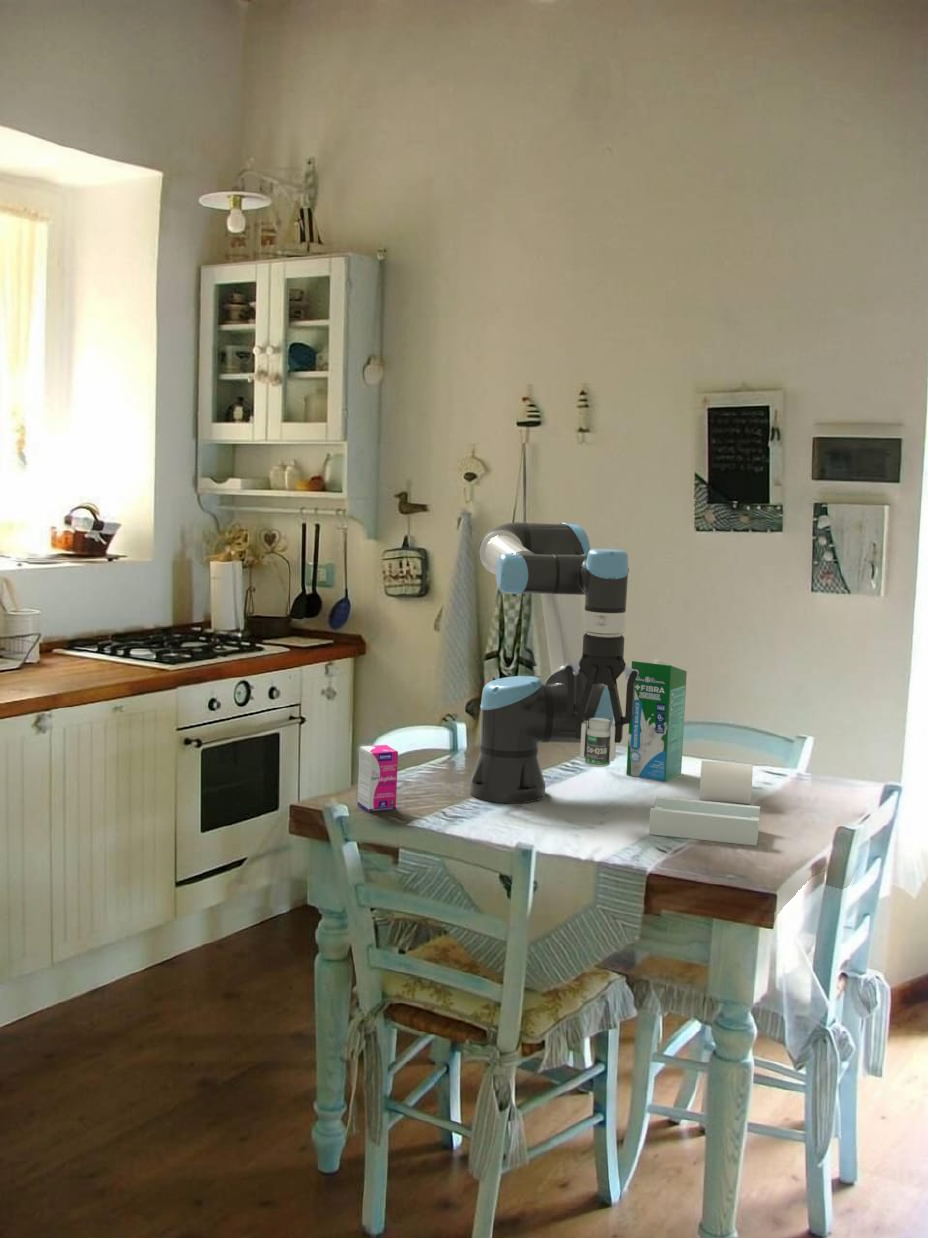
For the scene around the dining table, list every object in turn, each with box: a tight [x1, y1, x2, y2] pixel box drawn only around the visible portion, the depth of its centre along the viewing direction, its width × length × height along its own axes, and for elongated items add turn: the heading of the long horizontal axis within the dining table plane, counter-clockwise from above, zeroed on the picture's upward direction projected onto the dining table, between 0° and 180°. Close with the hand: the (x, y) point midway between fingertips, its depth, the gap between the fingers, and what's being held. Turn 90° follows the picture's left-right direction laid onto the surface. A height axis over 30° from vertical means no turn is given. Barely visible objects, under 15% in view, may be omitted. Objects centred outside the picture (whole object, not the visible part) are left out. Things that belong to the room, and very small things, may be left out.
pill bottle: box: [584, 718, 611, 768], centre depth 229 cm, size 5×5×8 cm
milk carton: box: [626, 659, 688, 782], centre depth 267 cm, size 9×9×25 cm
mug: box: [698, 760, 754, 805], centre depth 249 cm, size 12×10×8 cm
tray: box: [648, 795, 761, 847], centre depth 225 cm, size 19×10×4 cm, turn 75°
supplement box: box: [357, 744, 399, 813], centre depth 235 cm, size 6×6×12 cm
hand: (597, 757), depth 229 cm, fingers closed on pill bottle, 5 cm apart
